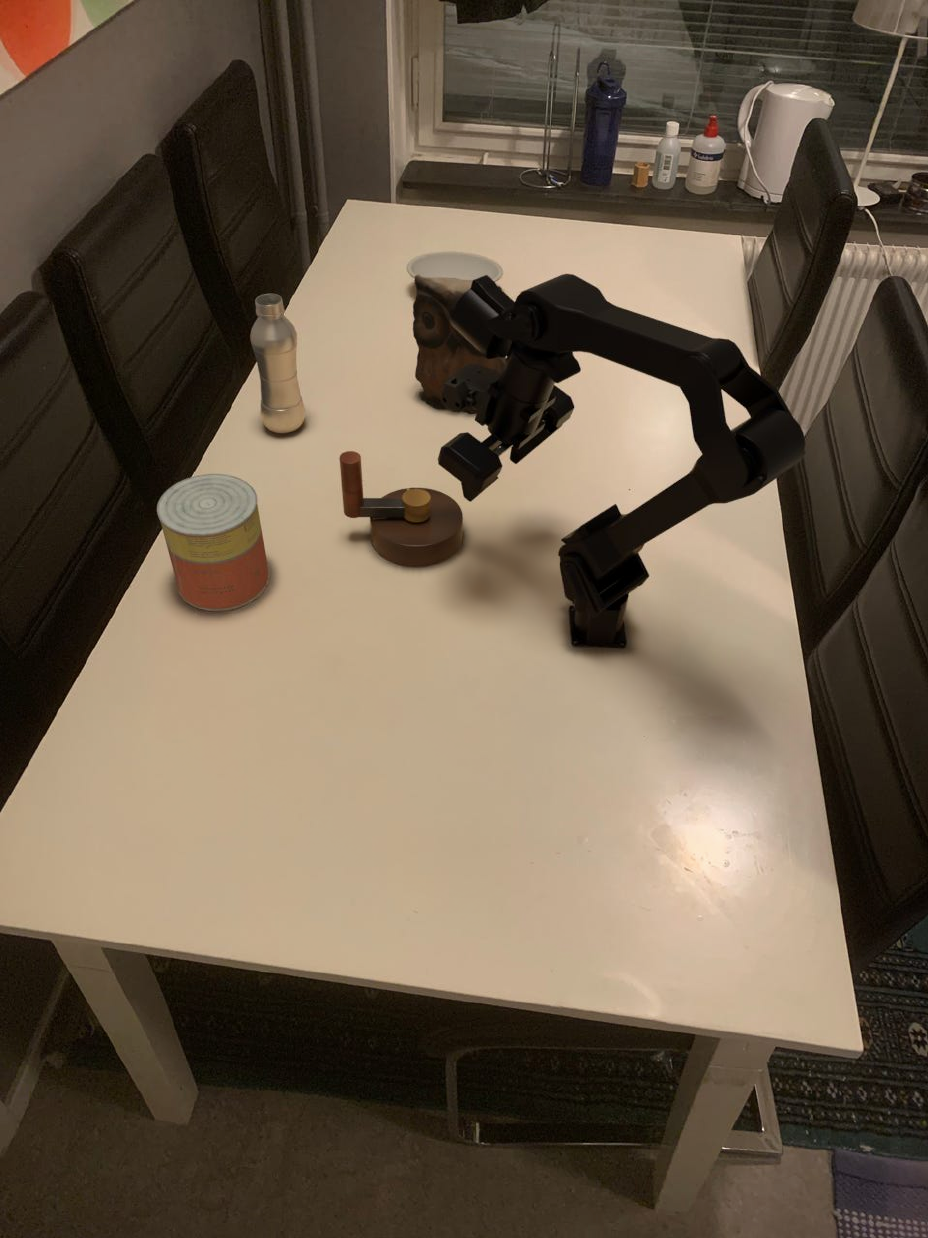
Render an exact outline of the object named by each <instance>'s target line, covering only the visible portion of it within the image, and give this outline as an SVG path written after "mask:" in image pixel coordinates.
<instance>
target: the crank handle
mask: <svg viewBox="0 0 928 1238" xmlns="http://www.w3.org/2000/svg"><path fill="white" fill-rule="evenodd" d="M339 469H340V481H341V482H340V483H341V493H342V495H341V496H342V506H343V514H344V515H345V516H346V517H347V518H349V519H358V518H370V517H404V518H405V519H406V520H408V521H410V522H423V521H425V520H427V519H428V518H429V517H430V506H431V497H430V495H429V493H428V492H426V491H425V490H422V489H411V490H408V491H406V492H405V493H404V494H403V496H402V498H382V497H364V485H363V484H364V483H363V470H362V469H363V468H362V456H361V454H360V453H359V452H357V451H353V450H347V451H343V452H342V453H341V454H340V455H339Z"/></svg>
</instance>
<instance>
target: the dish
mask: <svg viewBox="0 0 928 1238" xmlns="http://www.w3.org/2000/svg"><path fill="white" fill-rule="evenodd" d="M405 269H406V272H407V273H408V275H409V276H410V277H412V278H413V279H415V276H416V275H420V276H421V277H432V278H438V277H442V278H458V279H461V280H475V279H477V278H480V277H482V276H485V275H488V276H489V277H490V278H491V279H492V280H493V281H494V282H495V283H497V282H498V281H500V280H501V279H502V278H503V275H504V269H503V267H502V265H500V264H499V263H498V262H496V261H495V260H493V259H491V258H488V257H486V256H483V255H480V254H476V253H471V252H465V251H464V252H463V251H434V252H429V253H424V254H420V255H418V256H414V257H413V258H411V259H410V260H409V261H408V262H407V264H406V268H405Z"/></svg>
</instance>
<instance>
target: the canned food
mask: <svg viewBox="0 0 928 1238" xmlns="http://www.w3.org/2000/svg"><path fill="white" fill-rule="evenodd" d="M258 502H259V501H258V495H257V491H256V490H255V488H254V487H253V486H252V485H251V484H250V483H249V482H247V481H246V480H244V479H242V478H239V477H238V476H234V475H230V474H224V473H205V474H200V475H194V476H190V477H188V478H184V479H182V480H180V481H178V482H176V483H174V484H173V485H171V486H170V487H169V488H168V489H166V491H164V492H163V494H162V495H161V496H160V498H159V499H158V501H157V505H156V513H157V517H158V519H159V522H160V526H161V529H162V532H163V536H164V540H165V544H166V547H167V552H168V555H169V559H170V562H171V567H172V571H173V574H174V578H175V581H176V589H177V592H178V594H179V596H180V597H181V599H182V600H183V601H184V602H185V603H187V604H188V605H190V606H192V607H194V608H196V609H200V610H203V611H208V612H224V611H225V612H226V611H231V610H235V609H239V608H242V607H244V606H246V605H249V604H250V603H252V602H254V601H255V600H256V599H258V598H259V597H260V596H261V595H262V594H263V593H264V592H265V590H266V589H267V587H268V585H269V582H270V579H271V572H270V568H269V566H268V559H267V553H266V547H265V540H264V535H263V529H262V523H261V517H260V512H259V505H258Z"/></svg>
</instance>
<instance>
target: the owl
mask: <svg viewBox="0 0 928 1238" xmlns="http://www.w3.org/2000/svg"><path fill="white" fill-rule="evenodd" d="M472 281H473V280H461V279H458V278H442V277H438V278H432V277H421V276H420V275H416V276H415V278H414V284H415V288H416V295H415V299H414V301H413V304H412V315H413V322H412V333H413V338H414V339H415V342H416V345H417V349H418V351H417V355H416V366H415V373H414V377H415V379H416V381H418V382H419V383H420V385H421V388H422V389H423V392H422V394H421V396H420V399H421V401H422V402H424V403H425V404H427V405H429V406H430V407H431V408H433V409H436V410H449V409H448V408H446V407H444V405H443V404H442V399H441V395H440V391H441V390H443V383H444V382H446V381H447V380H448V377H449V376H450V375H452V374H453V373H455V372H456V371H458V370H459V369H460V368H462V367H463V366H465V365H467V364H470V363H475V364H478V365H481V366H484V367H487V368H490V369H493V370H496V371H498V372H500V374H501V373H502V370H503V367H504V364H505V361H506V358H507V356H506V357H499V356H498V357H496V358H493V359H487V358H486V357H485V356H484V355H483V354H482V353H481V352H480V351H478V350H477V349H476V348H475V347H474V346H473V345H472V344H471V343H470V342H469V341H468V340H467V339H466V338H465V337H464V336H463V335H462V334H460V333H459V332H458V331H457V330H456V329H455V328H454V327H453V326H452V325H451V323H450V314H451V310H452V308H454V307H455V305H456V304H457V302H458V301H459V299H460V298H461V297H462V296H463V294H464V293H465V292H467V291H468V290H469V289H470V288H471V285H472ZM497 286H498V287H499V288H500V289H501V290H502V291H503V289H502V287H501V285H497ZM451 412H454V413H457V412H456V411H453V410H451ZM461 412H463V413H468V414H469V415H474V414H475V413H474V412H471V411H468V410H465V409H464V410H462V411H461Z"/></svg>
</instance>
